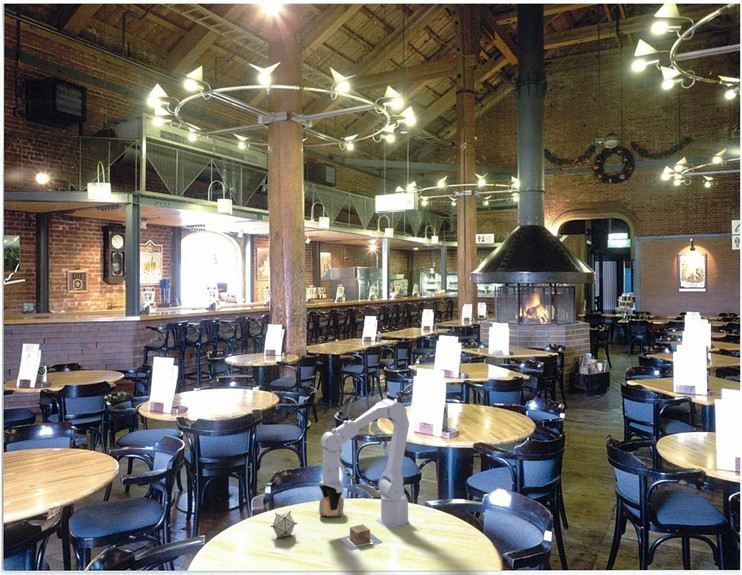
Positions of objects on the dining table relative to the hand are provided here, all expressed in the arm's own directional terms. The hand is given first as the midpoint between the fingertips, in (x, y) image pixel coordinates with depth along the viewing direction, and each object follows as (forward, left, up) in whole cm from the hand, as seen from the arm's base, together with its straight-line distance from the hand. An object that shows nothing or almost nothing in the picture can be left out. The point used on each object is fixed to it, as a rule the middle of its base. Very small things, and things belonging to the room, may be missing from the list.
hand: (331, 507), depth 188 cm
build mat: (-6, +10, -9) cm, 15 cm away
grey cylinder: (-7, -16, -10) cm, 20 cm away
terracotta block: (0, 0, -2) cm, 2 cm away
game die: (+15, -6, -9) cm, 19 cm away
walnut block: (-6, +10, -9) cm, 15 cm away
